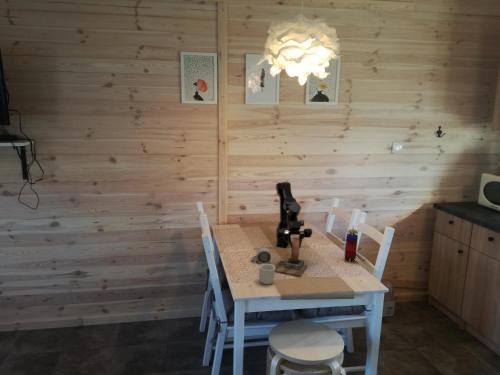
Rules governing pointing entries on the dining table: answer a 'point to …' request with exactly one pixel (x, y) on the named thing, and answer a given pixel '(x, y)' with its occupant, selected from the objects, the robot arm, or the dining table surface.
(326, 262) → the dining table surface
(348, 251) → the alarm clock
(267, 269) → the cup
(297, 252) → the peg
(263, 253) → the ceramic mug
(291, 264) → the socket board
